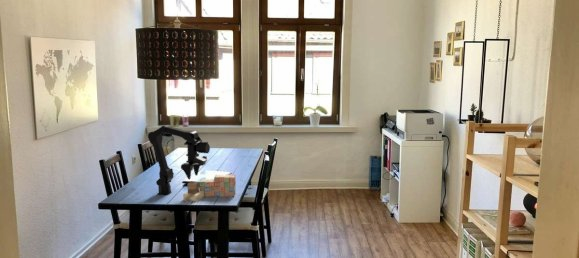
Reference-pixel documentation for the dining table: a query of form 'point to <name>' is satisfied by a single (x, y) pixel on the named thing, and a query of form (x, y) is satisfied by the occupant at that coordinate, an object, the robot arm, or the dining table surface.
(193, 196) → the birch block
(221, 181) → the stack of blocks
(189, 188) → the walnut cube
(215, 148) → the dining table surface
